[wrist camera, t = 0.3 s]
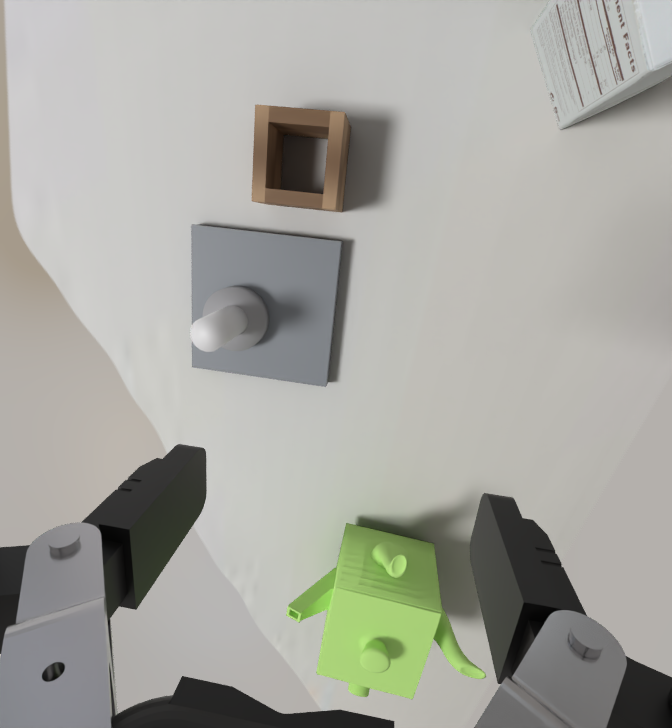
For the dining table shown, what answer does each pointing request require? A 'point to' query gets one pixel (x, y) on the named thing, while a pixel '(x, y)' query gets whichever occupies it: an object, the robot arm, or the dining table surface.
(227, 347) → the post stand
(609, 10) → the supplement box
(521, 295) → the dining table surface
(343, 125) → the wooden square frame
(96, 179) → the dining table surface
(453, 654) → the kettle
